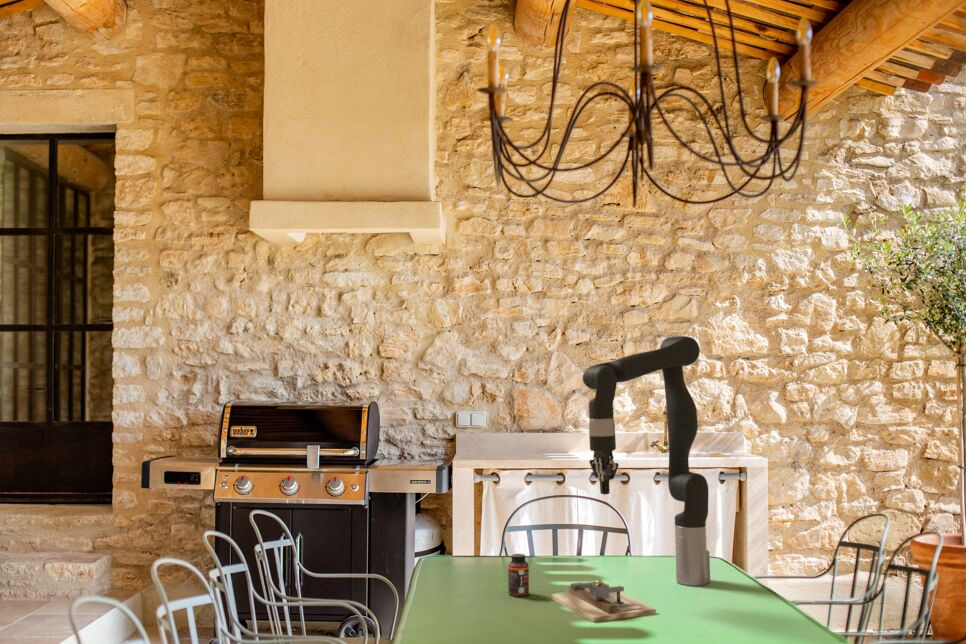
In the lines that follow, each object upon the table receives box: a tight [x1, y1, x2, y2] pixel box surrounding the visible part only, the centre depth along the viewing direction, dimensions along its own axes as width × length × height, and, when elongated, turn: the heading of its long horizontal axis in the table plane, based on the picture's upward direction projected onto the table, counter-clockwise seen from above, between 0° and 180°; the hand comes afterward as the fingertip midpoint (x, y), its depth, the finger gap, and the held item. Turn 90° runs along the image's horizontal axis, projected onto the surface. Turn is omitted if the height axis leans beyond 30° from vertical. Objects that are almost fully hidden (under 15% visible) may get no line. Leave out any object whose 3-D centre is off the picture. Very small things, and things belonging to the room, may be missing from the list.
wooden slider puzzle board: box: [550, 585, 657, 623], centre depth 219 cm, size 19×24×3 cm
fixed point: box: [570, 581, 596, 590], centre depth 227 cm, size 9×2×3 cm, turn 112°
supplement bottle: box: [507, 553, 530, 598], centre depth 232 cm, size 6×6×11 cm
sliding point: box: [588, 579, 625, 602], centre depth 216 cm, size 9×4×6 cm, turn 112°
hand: (605, 493), depth 231 cm, fingers closed
